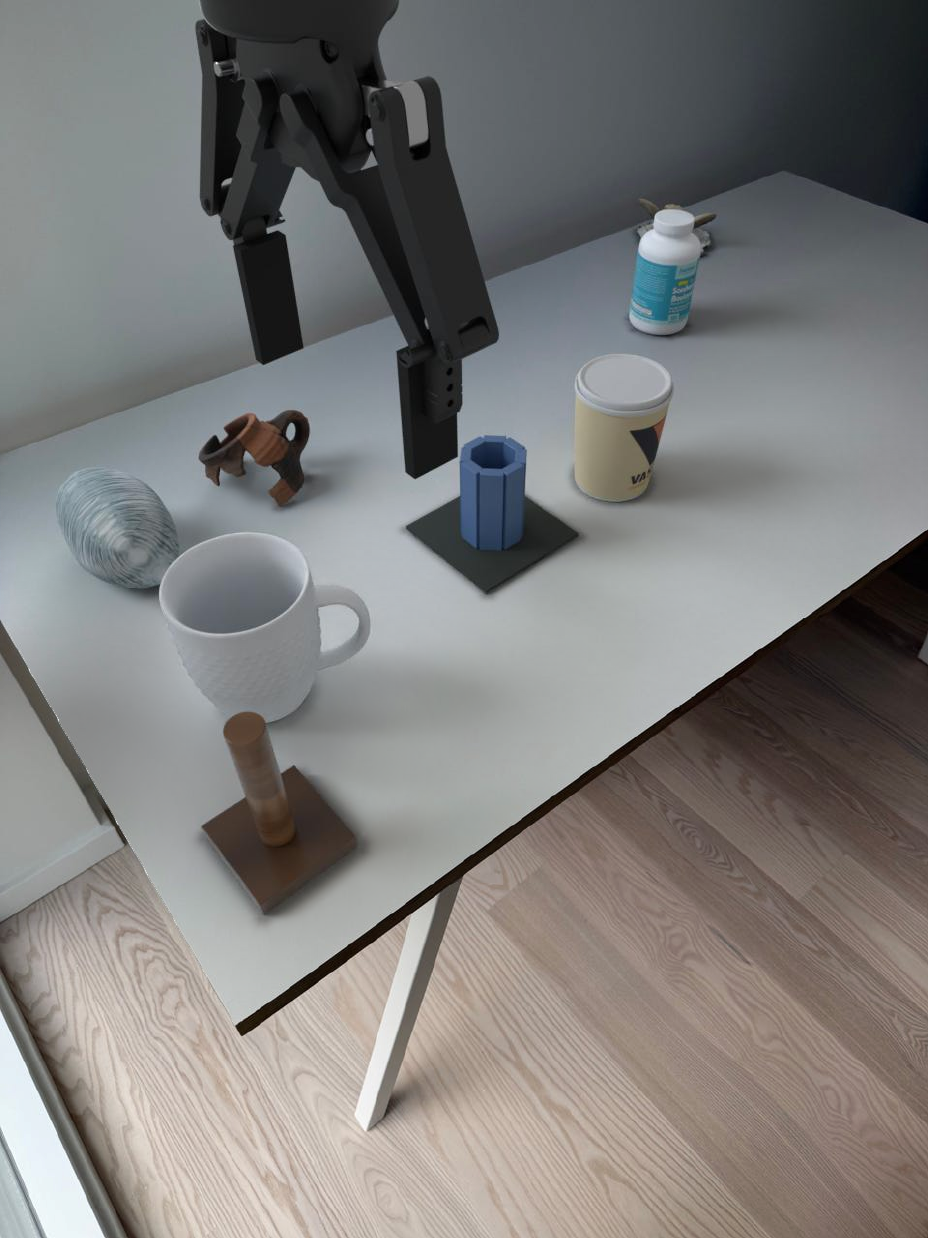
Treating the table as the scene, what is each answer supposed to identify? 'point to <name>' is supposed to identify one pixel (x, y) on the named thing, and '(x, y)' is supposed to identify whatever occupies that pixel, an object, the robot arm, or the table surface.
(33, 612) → the table surface
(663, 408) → the cream lidded canister
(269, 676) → the mug
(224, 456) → the brown looped piece
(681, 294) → the pill bottle
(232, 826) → the dowel stand
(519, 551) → the mat
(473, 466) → the sleeve
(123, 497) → the streaked grey ellipsoid
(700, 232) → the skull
